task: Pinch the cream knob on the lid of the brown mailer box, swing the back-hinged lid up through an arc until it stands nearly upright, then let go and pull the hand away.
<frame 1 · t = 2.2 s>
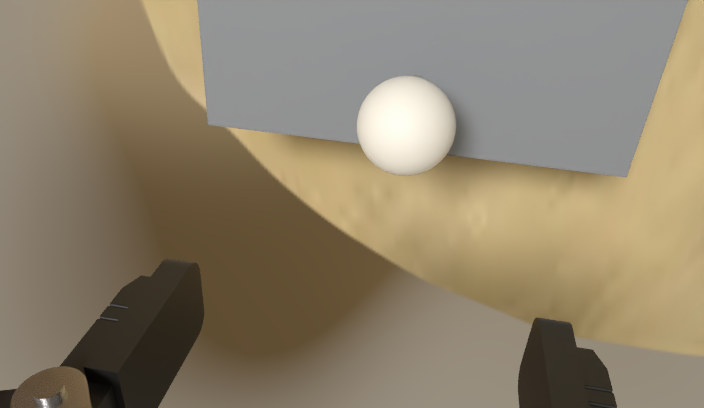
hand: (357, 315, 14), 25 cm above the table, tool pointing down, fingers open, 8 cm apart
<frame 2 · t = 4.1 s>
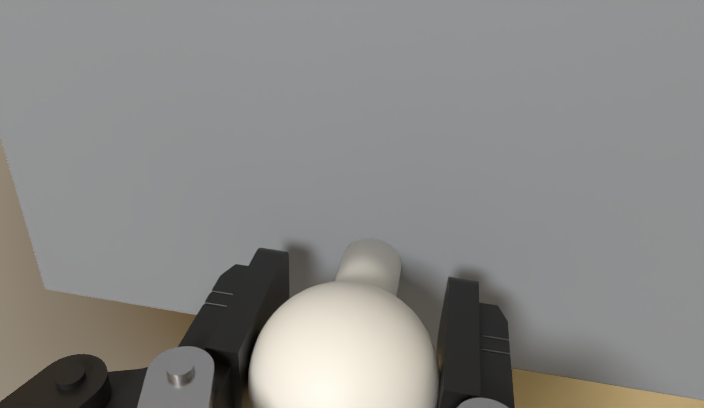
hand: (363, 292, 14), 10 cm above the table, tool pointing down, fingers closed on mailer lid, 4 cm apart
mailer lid: (375, 79, 10), point 12 cm above the table, hinge at 0.0°, touching gripper
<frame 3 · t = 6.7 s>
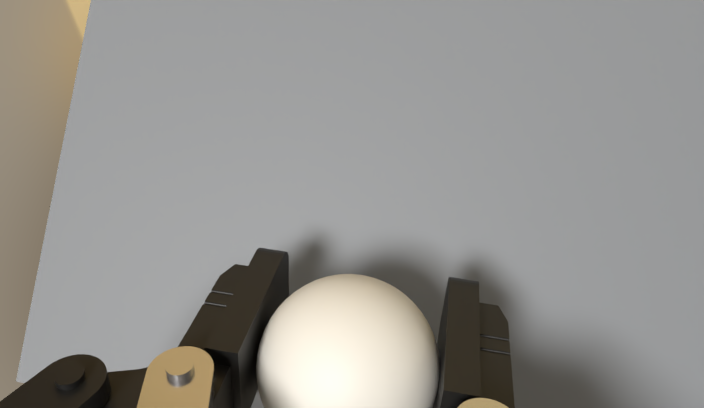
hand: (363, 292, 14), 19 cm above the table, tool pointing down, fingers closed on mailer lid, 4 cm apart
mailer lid: (390, 116, 15), point 16 cm above the table, hinge at 38.1°, touching gripper
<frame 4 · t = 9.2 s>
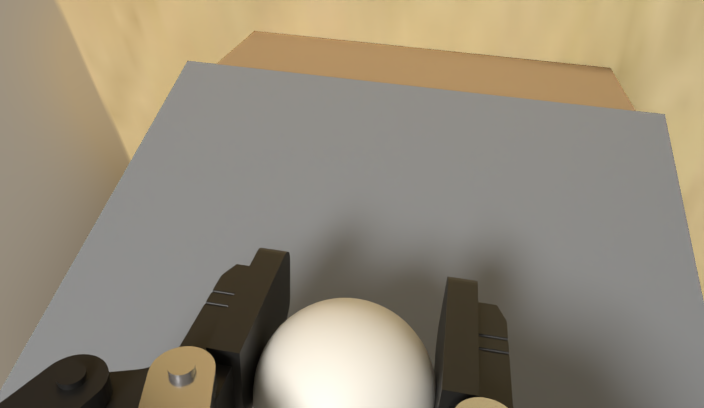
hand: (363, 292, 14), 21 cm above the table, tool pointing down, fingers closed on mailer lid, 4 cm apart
mailer box: (410, 172, 37), on the table
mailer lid: (384, 215, 18), point 18 cm above the table, hinge at 70.4°, touching gripper
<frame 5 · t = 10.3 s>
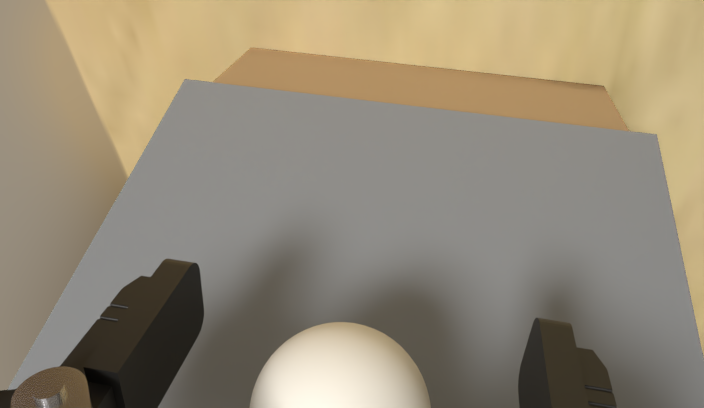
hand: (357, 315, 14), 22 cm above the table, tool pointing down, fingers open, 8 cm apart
mailer box: (406, 187, 37), on the table
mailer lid: (379, 237, 18), point 18 cm above the table, hinge at 70.7°
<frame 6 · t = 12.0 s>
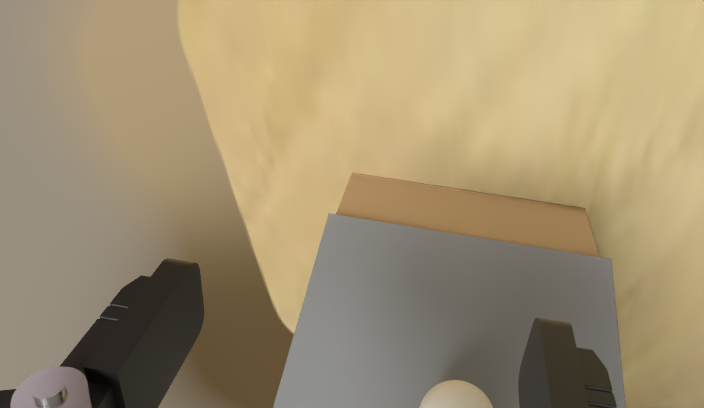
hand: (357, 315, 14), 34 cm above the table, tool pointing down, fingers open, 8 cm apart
mailer box: (450, 263, 54), on the table
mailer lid: (461, 329, 35), point 18 cm above the table, hinge at 70.7°
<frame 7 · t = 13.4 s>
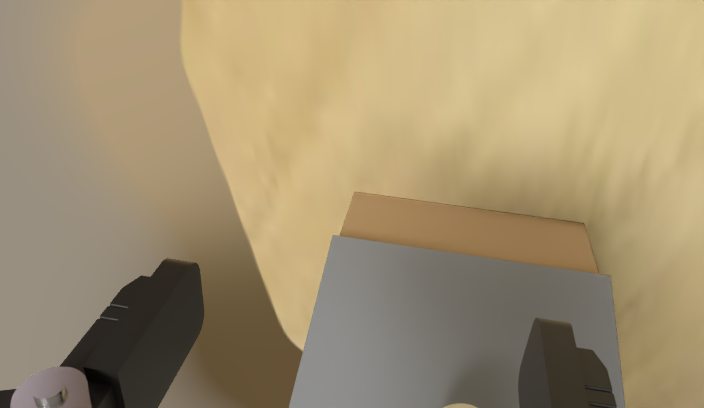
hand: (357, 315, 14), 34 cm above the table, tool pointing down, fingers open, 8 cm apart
mailer box: (453, 278, 55), on the table
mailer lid: (465, 351, 36), point 18 cm above the table, hinge at 70.7°
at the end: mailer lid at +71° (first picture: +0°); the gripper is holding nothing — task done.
